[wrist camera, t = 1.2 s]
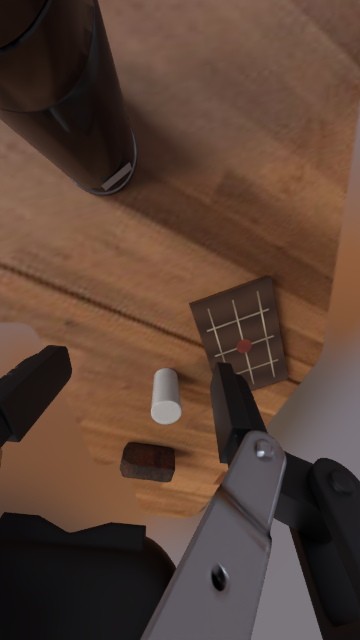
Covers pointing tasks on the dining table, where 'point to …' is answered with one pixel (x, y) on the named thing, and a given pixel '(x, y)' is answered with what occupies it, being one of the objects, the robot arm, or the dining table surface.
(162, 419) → the white upright cylinder
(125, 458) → the brick
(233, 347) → the board
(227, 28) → the dining table surface
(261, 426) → the robot arm
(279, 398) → the dining table surface
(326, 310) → the dining table surface
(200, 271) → the dining table surface
